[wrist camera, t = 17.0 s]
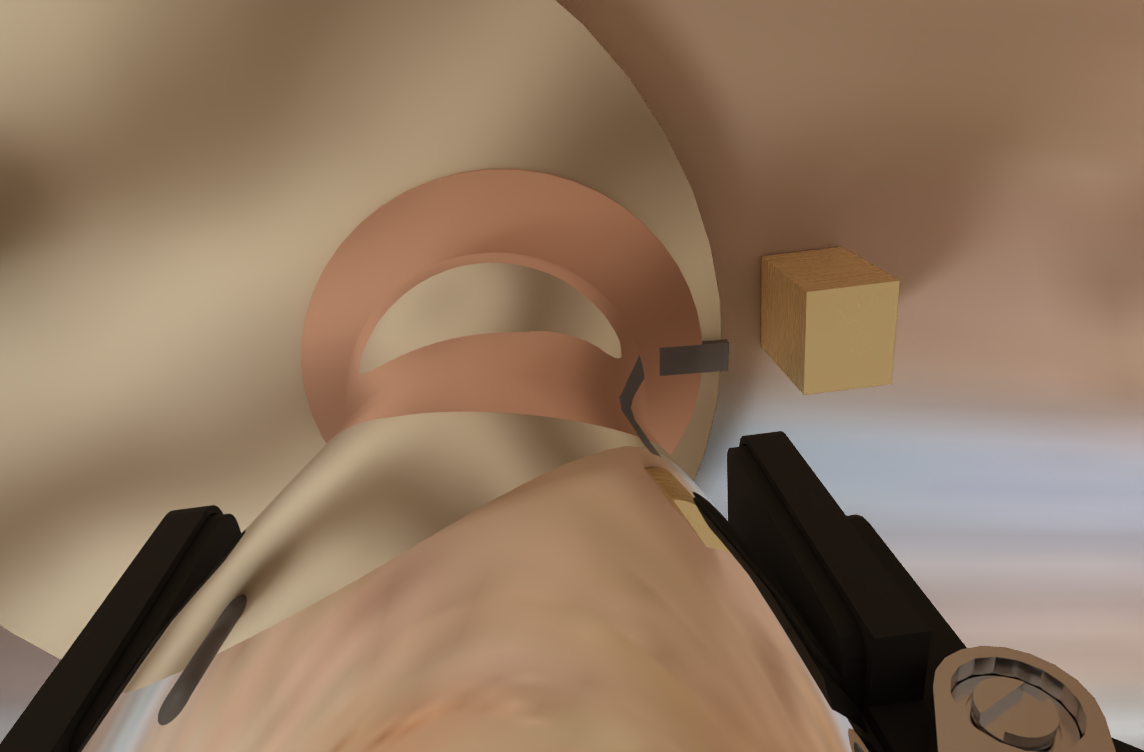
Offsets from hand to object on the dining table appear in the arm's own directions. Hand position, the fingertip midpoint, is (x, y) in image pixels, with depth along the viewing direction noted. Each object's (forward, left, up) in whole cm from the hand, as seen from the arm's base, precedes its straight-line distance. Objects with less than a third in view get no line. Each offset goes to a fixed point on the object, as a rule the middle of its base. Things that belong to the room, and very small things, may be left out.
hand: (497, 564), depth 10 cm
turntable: (-5, 0, -9) cm, 10 cm away
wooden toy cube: (+8, 0, -9) cm, 12 cm away
